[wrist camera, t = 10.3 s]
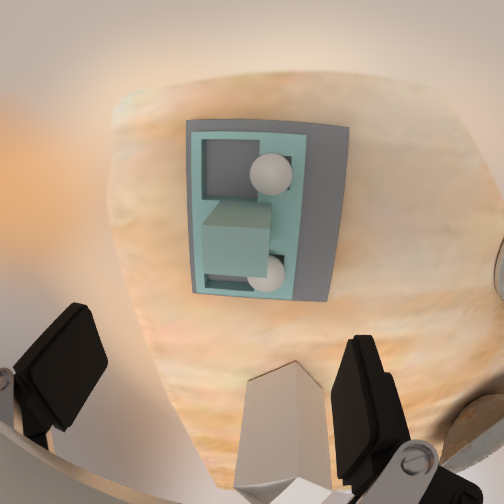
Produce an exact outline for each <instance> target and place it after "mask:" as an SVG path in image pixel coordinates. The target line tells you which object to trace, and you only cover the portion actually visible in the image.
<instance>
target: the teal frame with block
mask: <svg viewBox="0 0 504 504" xmlns="http://www.w3.org/2000/svg"><path fill="white" fill-rule="evenodd" d="M306 137H307V135H299V134H285V133H268V132H235V131H209V132H191V180H192V218H193V242H194V260H195V276H196V291H197V293H206V294H217V295H229V296H242V297H256V298H270V299H287V300H292V294H293V285H294V277H295V268H296V259H297V249H298V239H299V229H300V218H301V207H302V195H303V183H304V169H305V154H306ZM206 139H241V140H260V151H259V155H263V154H266V153H276V154H279V155H281V156H291V162H290V166H291V168H292V173H293V177H292V181H291V184H290V186H289V187H288V188H287V189H286V190H285V191H284V192H282V193H280V194H278V195H265V194H262V193H260V192H259V191H258V198H247V197H223V196H206ZM269 254H274V255H284V258H283V266H284V272H285V278H284V281H283V283H282V285H281V286H280V287H279V288H278V289H276V290H274V291H271V292H261V291H258V290H256V289H254V288H253V287H252V286H251V285H250V284H249V283H239V282H225V281H213V280H208V274H215V275H228V276H242V277H257V278H267V271H268V257H269Z"/></svg>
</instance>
